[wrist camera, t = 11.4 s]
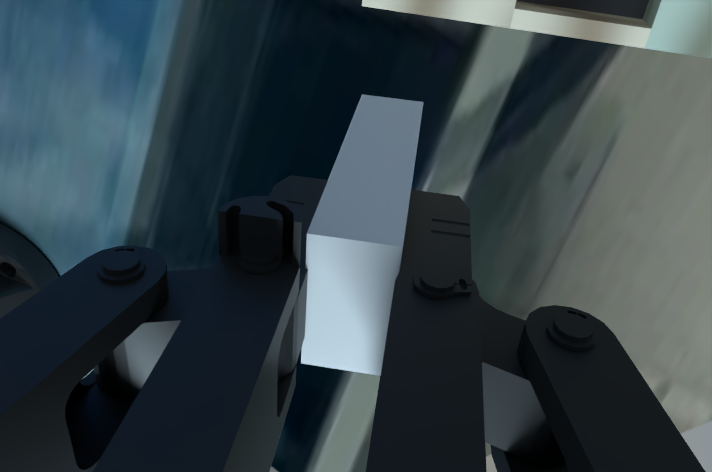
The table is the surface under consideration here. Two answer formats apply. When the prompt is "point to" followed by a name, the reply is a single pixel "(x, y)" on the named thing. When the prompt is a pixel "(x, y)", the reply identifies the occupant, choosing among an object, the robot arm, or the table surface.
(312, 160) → the table surface
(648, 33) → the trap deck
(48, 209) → the table surface
